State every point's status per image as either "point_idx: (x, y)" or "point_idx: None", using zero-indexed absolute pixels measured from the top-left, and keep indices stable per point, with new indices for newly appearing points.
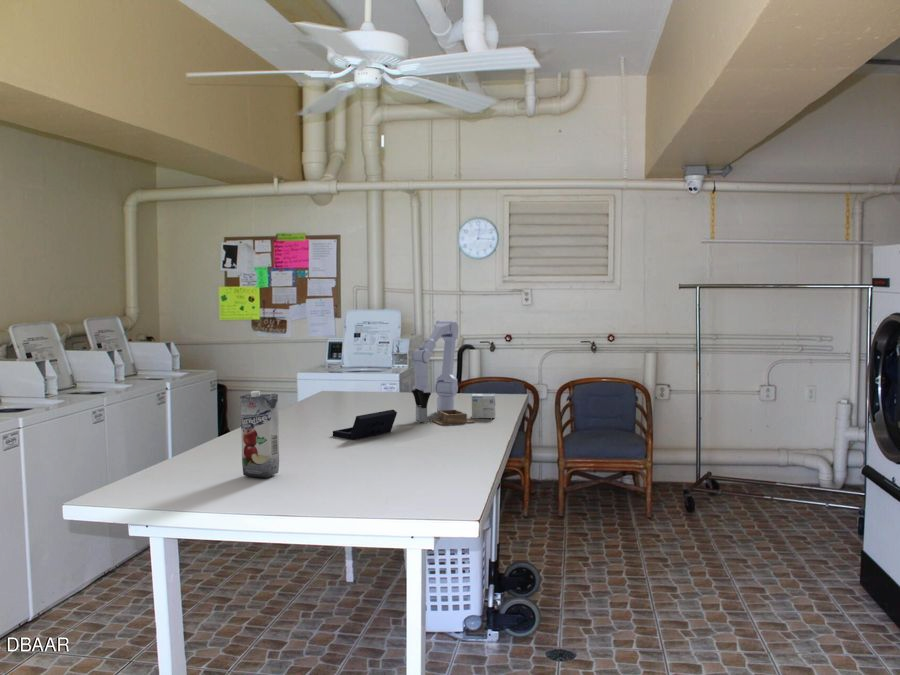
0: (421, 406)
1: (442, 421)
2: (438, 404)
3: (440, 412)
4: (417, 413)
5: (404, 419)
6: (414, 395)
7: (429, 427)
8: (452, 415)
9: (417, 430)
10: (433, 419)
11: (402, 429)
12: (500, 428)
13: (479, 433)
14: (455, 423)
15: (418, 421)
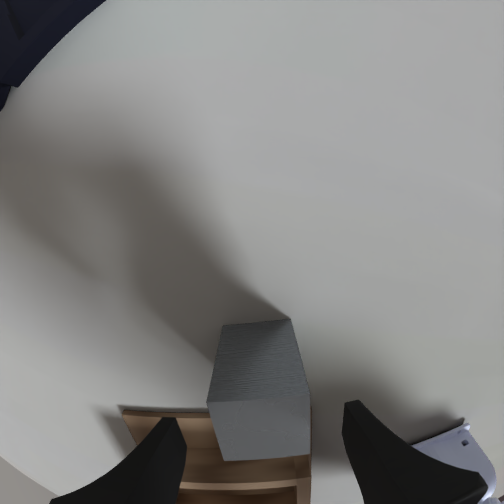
0: (158, 425)
1: (200, 444)
2: (464, 463)
3: (254, 480)
4: (248, 361)
5: (410, 254)
6: (391, 474)
7: (71, 344)
8: None
9: (7, 259)
10: None
11: (34, 177)
12: None
13: (4, 432)
14: None
15: (225, 331)
